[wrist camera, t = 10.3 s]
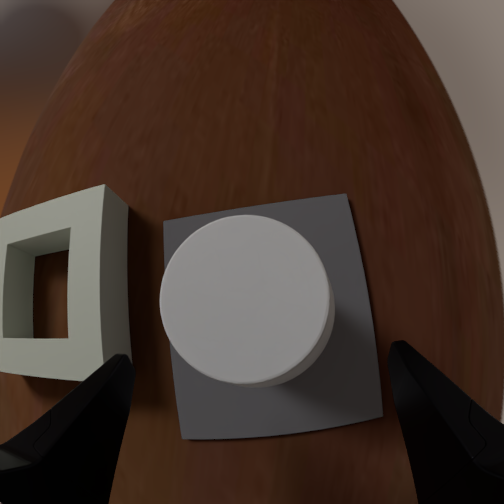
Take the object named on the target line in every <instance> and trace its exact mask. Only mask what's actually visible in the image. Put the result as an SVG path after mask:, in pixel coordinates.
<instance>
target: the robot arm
mask: <svg viewBox="0 0 504 504" xmlns="http://www.w3.org/2000/svg"><path fill="white" fill-rule="evenodd" d="M388 369H389V374H390V380H391V386H392V392H393V398H394V403H395V407H396V411H397V414H398V418H399V422H400V425H401V429H402V433H403V437H404V441H405V445H406V449H407V453H408V457H409V461H410V466H411V470H412V474H413V479H414V484H415V488H416V493H417V498H418V504H504V424H502V423H501V422H499V421H498V420H497V419H495V418H494V417H493V416H491V415H490V414H489V413H488V412H486V411H485V410H484V409H483V408H482V407H481V406H479V405H478V404H477V403H476V402H475V401H474V400H473V399H472V400H471V398H470V397H469V396H468V395H467V394H466V393H465V392H464V391H462V390H461V389H460V388H459V387H458V386H457V385H456V384H454V383H453V382H452V381H451V380H450V379H449V378H448V377H446V376H445V375H444V374H443V373H442V372H441V371H440V370H438V369H437V368H436V367H435V366H434V365H433V364H432V363H430V362H429V361H428V360H427V359H426V358H425V357H423V356H422V355H421V354H420V353H419V352H418V351H416V350H415V349H414V348H413V347H412V346H410V345H409V344H408V343H407V342H406V341H404V340H401V341H394V342H393V343H392V344H391V348H390V352H389V356H388ZM134 381H135V368H134V366H133V365H132V363H131V361H130V359H129V357H128V355H126V354H120V353H117V354H115V355H113V356H112V357H111V358H110V359H109V360H107V361H106V362H105V363H104V364H103V365H102V366H100V367H99V368H98V369H97V370H96V371H94V372H93V373H92V374H91V375H90V376H89V377H87V378H86V379H85V380H84V381H83V382H81V383H80V384H79V385H78V386H77V387H76V388H74V389H73V390H72V391H71V392H70V393H68V394H67V395H66V396H65V397H64V398H63V399H61V400H60V401H59V402H58V403H57V404H56V405H54V406H53V407H52V409H50V410H48V411H47V412H46V413H45V414H44V415H42V416H41V417H40V418H39V419H38V420H36V421H35V422H34V423H32V424H31V425H30V426H28V427H27V428H26V429H24V430H23V431H21V432H20V433H18V434H17V435H16V436H14V437H13V438H11V439H10V440H8V441H7V442H5V443H3V444H1V445H0V504H108V503H109V498H110V493H111V488H112V483H113V479H114V474H115V470H116V465H117V461H118V456H119V452H120V448H121V444H122V440H123V436H124V432H125V428H126V424H127V420H128V416H129V412H130V407H131V400H132V394H133V387H134Z"/></svg>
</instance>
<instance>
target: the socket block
mask: <svg viewBox="0 0 504 504" xmlns="http://www.w3.org/2000/svg"><path fill="white" fill-rule="evenodd" d="M127 231H128V205H127V204H126V203H125V202H124V201H123V200H122V199H120V198H119V197H118V196H117V195H116V194H115V193H114V192H113V191H112V190H111V189H110V188H109V187H107V186H106V185H105V184H103V185H100V186H96V187H93V188H89V189H86V190H82V191H79V192H76V193H72V194H69V195H66V196H63V197H60V198H56V199H53V200H50V201H47V202H44V203H41V204H38V205H35V206H33V207H30V208H27V209H24V210H21V211H18V212H16V213H13V214H10V215H8V216H5V217H2V218H0V371H1V372H7V373H13V374H20V375H27V376H35V377H43V378H53V379H63V380H75V381H84V380H85V379H86V378H87V377H89V376H90V375H91V374H92V373H93V372H94V371H96V370H97V369H98V368H99V367H100V366H102V365H103V364H104V363H105V362H106V361H107V360H109V359H110V358H111V357H112V356H113V355H115V354H117V353H120V354H126V355H128V357H129V359H130V361H131V363H132V354H131V343H130V329H129V312H128V285H127ZM68 249H69V262H68V335H69V339H33V283H34V265H35V256H40V255H44V254H49V253H54V252H59V251H63V250H68Z"/></svg>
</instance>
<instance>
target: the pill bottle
mask: <svg viewBox="0 0 504 504" xmlns="http://www.w3.org/2000/svg"><path fill="white" fill-rule="evenodd" d="M160 312H161V317H162V322H163V326H164V328H165V331H166V333H167V336H168V338H169V340H170V342H171V343H172V345H173V346H174V348H175V349H176V351H177V352H178V353H179V355H180V356H181V357H182V358H183V359H184V360H185V361H186V362H187V363H188V364H190V365H191V366H192V367H193V368H195V369H196V370H197V371H199V372H201V373H202V374H204V375H206V376H208V377H210V378H212V379H215V380H218V381H222V382H226V383H231V384H234V385H238V386H243V387H253V388H259V387H269V386H274V385H278V384H281V383H284V382H287V381H289V380H291V379H293V378H295V377H296V376H298V375H300V374H301V373H302V372H304V371H305V370H306V369H308V368H309V367H310V366H311V365H312V364H313V363H314V362H315V361H316V359H317V358H318V357H319V356H320V354H321V353H322V351H323V350H324V348H325V346H326V344H327V342H328V340H329V338H330V335H331V332H332V329H333V324H334V317H335V302H334V294H333V290H332V286H331V284H330V281H329V278H328V276H327V273H326V270H325V268H324V265H323V263H322V261H321V259H320V257H319V255H318V254H317V252H316V251H315V249H314V248H313V247H312V245H311V244H310V243H309V242H308V241H307V240H306V239H305V238H304V237H303V236H302V235H301V234H299V233H298V232H297V231H295V230H294V229H292V228H291V227H289V226H287V225H286V224H284V223H282V222H279V221H276V220H274V219H271V218H267V217H263V216H256V215H237V216H230V217H225V218H221V219H218V220H216V221H213V222H211V223H209V224H207V225H205V226H203V227H201V228H200V229H198V230H197V231H195V232H194V233H193V234H191V235H190V236H189V237H188V238H187V239H186V240H185V241H184V242H183V243H182V244H181V245H180V246H179V248H178V249H177V250H176V251H175V253H174V254H173V256H172V258H171V259H170V261H169V263H168V265H167V268H166V270H165V273H164V276H163V279H162V284H161V290H160Z"/></svg>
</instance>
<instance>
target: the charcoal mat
mask: <svg viewBox="0 0 504 504" xmlns="http://www.w3.org/2000/svg"><path fill="white" fill-rule="evenodd" d="M237 215H256V216H263V217H267V218H271V219H274V220H276V221H279V222H282V223H284V224H286V225H287V226H289V227H291V228H292V229H294V230H295V231H297V232H298V233H299V234H301V235H302V236H303V237H304V238H305V239H306V240H307V241H308V242H309V243H310V244H311V245H312V247H313V248H314V249H315V251H316V252H317V254H318V255H319V257H320V259H321V261H322V263H323V265H324V268H325V270H326V273H327V276H328V278H329V281H330V284H331V286H332V290H333V294H334V302H335V317H334V324H333V329H332V332H331V335H330V338H329V340H328V342H327V344H326V346H325V348H324V350H323V351H322V353H321V354H320V356H319V357H318V358H317V359H316V361H315V362H314V363H313V364H312V365H311V366H310V367H309V368H308V369H306V370H305V371H304V372H302V373H301V374H300V375H298V376H296V377H295V378H293V379H291V380H289V381H287V382H284V383H281V384H278V385H274V386H269V387H259V388H253V387H243V386H238V385H234V384H231V383H226V382H222V381H218V380H215V379H212V378H210V377H208V376H206V375H204V374H202V373H201V372H199V371H197V370H196V369H195V368H193V367H192V366H191V365H190V364H188V363H187V362H186V361H185V360H184V359H183V358H182V357H181V356H180V355H179V353H178V352H177V351H176V349H175V348H174V346H173V345H172V343H171V342H170V350H171V360H172V369H173V378H174V386H175V394H176V401H177V409H178V415H179V422H180V429H181V435H182V439H232V438H250V437H263V436H274V435H283V434H292V433H300V432H307V431H314V430H320V429H326V428H332V427H337V426H342V425H347V424H352V423H357V422H362V421H366V420H370V419H375V418H379V417H383V409H382V397H381V386H380V376H379V367H378V358H377V350H376V342H375V335H374V328H373V321H372V315H371V309H370V303H369V297H368V291H367V286H366V280H365V275H364V270H363V265H362V260H361V255H360V250H359V245H358V241H357V236H356V232H355V227H354V223H353V219H352V215H351V211H350V207H349V203H348V199H347V195H346V194H339V195H330V196H323V197H315V198H307V199H300V200H292V201H285V202H278V203H271V204H265V205H258V206H251V207H245V208H238V209H232V210H226V211H220V212H214V213H208V214H202V215H196V216H190V217H185V218H179V219H173V220H168V221H163V225H164V262H165V270H166V268H167V265H168V263H169V261H170V259H171V258H172V256H173V254H174V253H175V251H176V250H177V249H178V248H179V246H180V245H181V244H182V243H183V242H184V241H185V240H186V239H187V238H188V237H189V236H190V235H191V234H193V233H194V232H195V231H197V230H198V229H200V228H201V227H203V226H205V225H207V224H209V223H211V222H213V221H216V220H218V219H221V218H225V217H230V216H237Z"/></svg>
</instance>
